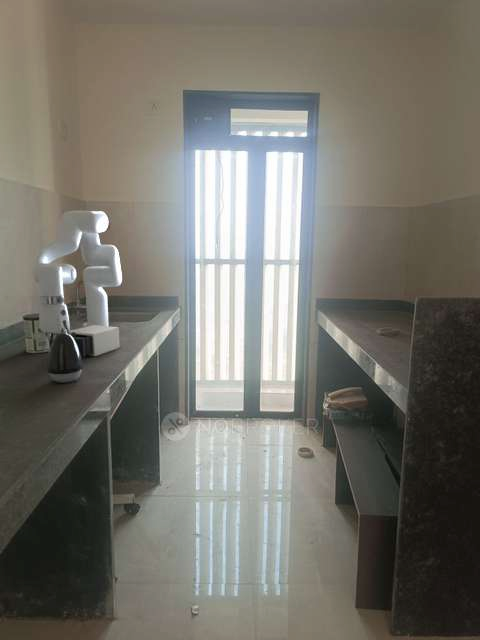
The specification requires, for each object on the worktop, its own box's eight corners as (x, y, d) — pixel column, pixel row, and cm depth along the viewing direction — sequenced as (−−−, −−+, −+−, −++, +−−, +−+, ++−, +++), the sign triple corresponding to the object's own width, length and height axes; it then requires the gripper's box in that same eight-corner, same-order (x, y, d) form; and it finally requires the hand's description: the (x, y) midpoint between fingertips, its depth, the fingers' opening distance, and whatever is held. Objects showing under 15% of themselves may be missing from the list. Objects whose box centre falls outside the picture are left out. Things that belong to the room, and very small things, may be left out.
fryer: (94, 356, 158) (93, 334, 156) (69, 352, 162) (67, 331, 161) (119, 347, 171) (118, 327, 169) (95, 344, 176) (94, 324, 174)
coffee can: (41, 345, 173) (39, 312, 170) (59, 348, 169) (57, 314, 166) (19, 351, 164) (16, 316, 161) (38, 354, 159) (35, 318, 157)
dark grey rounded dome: (90, 377, 133) (88, 330, 130) (67, 387, 124) (64, 337, 121) (65, 373, 136) (62, 328, 134) (40, 383, 127) (36, 334, 124)
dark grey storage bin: (71, 360, 148) (70, 342, 147) (47, 357, 152) (46, 339, 151) (108, 348, 165) (107, 332, 164) (85, 345, 170) (84, 329, 169)
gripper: (76, 300, 145) (79, 351, 149) (45, 298, 151) (48, 347, 154) (59, 303, 139) (63, 356, 142) (27, 300, 144) (31, 351, 147)
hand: (55, 351), depth 148 cm, fingers closed
